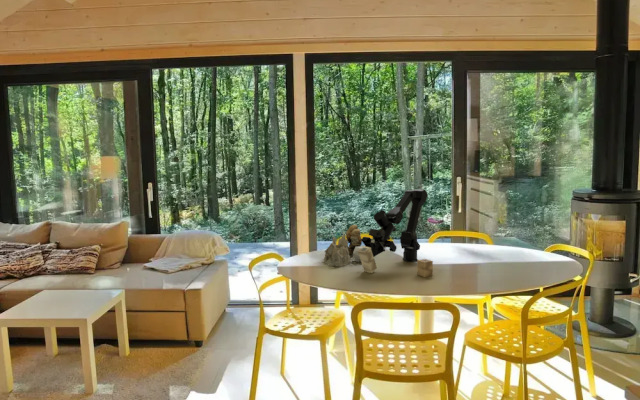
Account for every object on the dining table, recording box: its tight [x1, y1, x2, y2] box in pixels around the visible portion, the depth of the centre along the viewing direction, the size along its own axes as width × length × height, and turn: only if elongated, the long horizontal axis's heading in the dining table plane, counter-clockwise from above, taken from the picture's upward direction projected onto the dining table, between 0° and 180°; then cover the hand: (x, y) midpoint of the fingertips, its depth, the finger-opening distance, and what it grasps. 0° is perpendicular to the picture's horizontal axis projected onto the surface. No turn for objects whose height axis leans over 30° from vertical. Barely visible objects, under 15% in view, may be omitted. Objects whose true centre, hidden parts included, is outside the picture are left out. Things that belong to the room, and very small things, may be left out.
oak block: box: [416, 258, 434, 278], centre depth 215 cm, size 5×5×7 cm
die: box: [352, 246, 363, 263], centre depth 244 cm, size 8×9×10 cm
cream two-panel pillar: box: [358, 245, 378, 274], centre depth 220 cm, size 5×4×12 cm
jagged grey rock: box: [323, 234, 352, 267], centre depth 242 cm, size 16×16×15 cm
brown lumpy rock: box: [345, 224, 363, 257], centre depth 262 cm, size 18×12×17 cm, turn 1°
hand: (370, 257), depth 222 cm, fingers closed
